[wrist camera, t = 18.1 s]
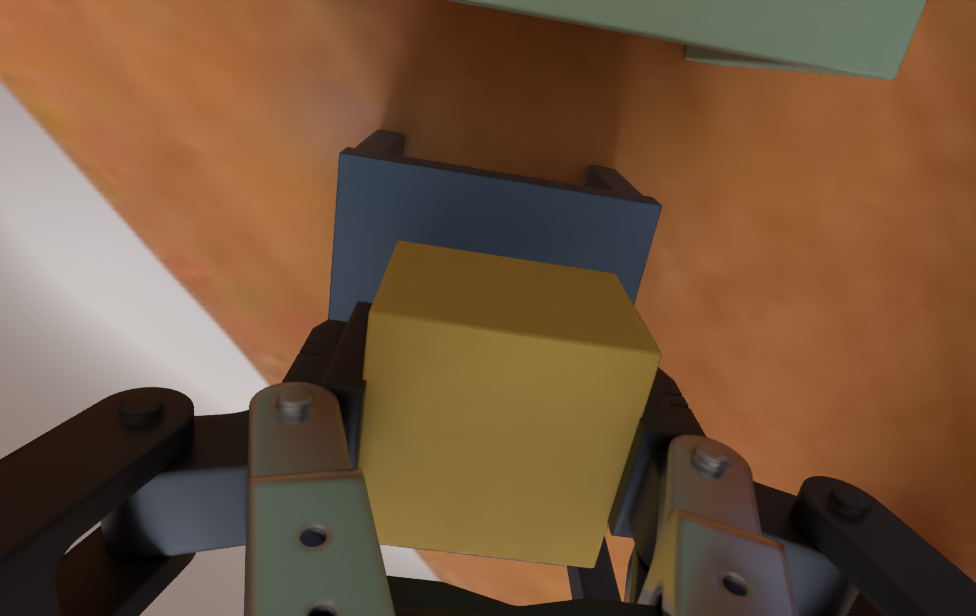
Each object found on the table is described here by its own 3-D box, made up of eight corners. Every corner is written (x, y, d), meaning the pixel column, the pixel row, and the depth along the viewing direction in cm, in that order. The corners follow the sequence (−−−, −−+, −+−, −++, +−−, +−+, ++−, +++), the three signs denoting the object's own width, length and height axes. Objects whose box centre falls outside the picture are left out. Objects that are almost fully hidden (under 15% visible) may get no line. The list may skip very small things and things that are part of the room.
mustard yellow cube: (568, 450, 15) (595, 570, 11) (376, 425, 14) (346, 541, 11) (616, 272, 13) (663, 353, 9) (397, 239, 12) (368, 310, 9)
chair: (561, 398, 26) (649, 778, 13) (352, 369, 26) (207, 739, 12) (619, 167, 22) (836, 356, 9) (373, 125, 22) (194, 262, 8)
